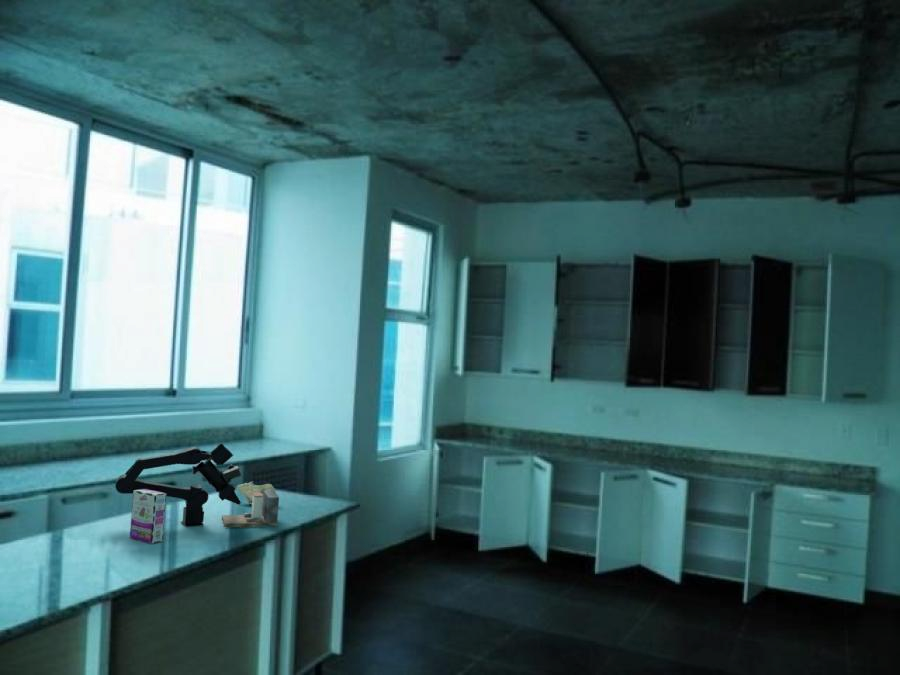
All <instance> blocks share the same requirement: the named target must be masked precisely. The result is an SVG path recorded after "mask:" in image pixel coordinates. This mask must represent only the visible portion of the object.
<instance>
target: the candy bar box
mask: <svg viewBox="0 0 900 675" xmlns="http://www.w3.org/2000/svg"><path fill="white" fill-rule="evenodd" d="M166 494H167V493H162V492H158V491H153V490H148V489H140V490H134V491H133V494H132V506H131V517H130V530H129V539H130V540H135V541H138V542H142V543H146V544H150V545H154V544H158V543H162V542H163V541H164V533H165V532H164V530H165V517H166V506H167V504H166V503H167V496H166ZM161 541H162V542H161Z"/></svg>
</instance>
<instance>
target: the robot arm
mask: <svg viewBox="0 0 900 675" xmlns="http://www.w3.org/2000/svg"><path fill="white" fill-rule="evenodd" d="M233 456H234V454H233V452H232V451H230V450H229V448H228V447H226V446H225V445H224V444H223V443H222V442H220V443H219V444H217V446H216V447H214V448H213V449H212V450H211V451H208V450H203V449H201V448H200V447H198V446H191V447H188V448H185V449H182V450H180V451H177V452H173V453H166V454H162V455H156V456H150V457H149V456H148V457H139V458H137V459H136V460H135V461H134V463H133V464H132V465H131V466H130V467H129V468H128V470H127V471H126V472H125V473H124V474H121V475H119V476H118V477H117V479H116V481H115V486H114V487H115V490H116V491H117V493H119V494H123V495H124V494H127V495H128V494H129V495H130V494H131V495H133V491H134V490H140V489H148V490H153V491H158V492H162V493H167V494H166V497H169V498H173V499H174V498H176V499H181V500H183V501H184V502H185V506H184V507H183V509H182V510H183V511H182V521H180V524H182V525H183V526H185V527H196V526H203V525H204V518H205V511H204V507H203V506H204V505H205V504H206V503H207V502H208V501H209V493H208V489H206V487H204V486H202V484H201V483H200V484H195V483H192V482H190V483H189V486H183V487H182V486H179V485H177V486H176V485H171V484H166V483H158V482H153V481H146V480H143V479H142V478H141V479H140V478H138V477H139V476H140V475H141V473H142V472H143V471H144V470H149V469H155V468H161V467H168V466H173V465H186V466H187V465H192V475H195V474H197V473H199V474H200V475H201V476H202V477H203V478H204V480H206V481H207V483H208V484H209V485H211V487H212V488H214V490H215V492H216V493H218V495H217V496H218V498H219V499H220V500H221V501H224V500H226V501H229V502H230V503H231V502H232V503H233V504H236V505H241V503H242V502H241V500H240V499H239V496H238V495H237V493H236V492H235V491H236V489H237V487H235V484H234V483H231V482H233V481H232V479H235V478H237V477H241V476H242V472H241V470H240V467H239V466H238V465H235V466H234V465H233V464H230V465H228V466H227V469H226V470H224V471H222V470H221V469H219V467H218V466H223V465H225V463H227V462H228V461H229V460H230V459H232V457H233ZM212 461H213V462H212ZM216 465H217V466H216Z"/></svg>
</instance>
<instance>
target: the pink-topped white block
mask: <svg viewBox="0 0 900 675" xmlns="http://www.w3.org/2000/svg"><path fill="white" fill-rule="evenodd" d="M262 501H263V495H262V494H261V493H253V497H252V503H251V512H250V513H251V517H252V518H260V520H261V515H262Z"/></svg>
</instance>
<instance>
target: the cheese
mask: <svg viewBox="0 0 900 675" xmlns="http://www.w3.org/2000/svg"><path fill="white" fill-rule="evenodd" d="M236 489H237V491H238V492H240V493H241V494H242V495H243V496H244V497H245V500H246V501H247V503H248V504H252V497H253V493H261V494H262V495H263V491H264V490H274V491H275V493H276V489H275V488H274V486H273V485H272V484H271V483H265V484H261V485H256V484H254V481H250V482H245V483H241V484H238V485H237V486H236ZM276 494H277V493H276ZM262 504H263V501H262Z"/></svg>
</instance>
